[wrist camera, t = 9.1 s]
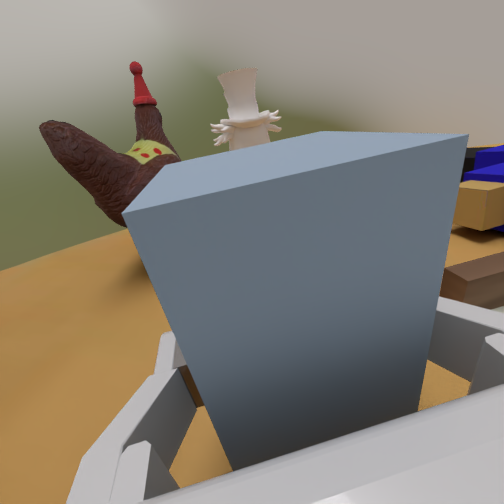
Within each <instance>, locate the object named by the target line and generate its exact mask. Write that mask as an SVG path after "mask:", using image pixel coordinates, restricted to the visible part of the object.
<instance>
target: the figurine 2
mask: <svg viewBox="0 0 504 504" xmlns="http://www.w3.org/2000/svg"><path fill="white" fill-rule="evenodd" d="M256 74H257V68H245V69H239V70H234V71H230V72H227V73H224V74H221V75H219V76H218V77H217V78H218V80H219V81H220V83H221V85H222V87H223V89H224V91H225V93H224V94H223V95H224V96H225V98H226V100H227V102H228V105H229V108H228V109H227V110H228V114H229V118H230V119H221V121H220V122H221V124H218V125H213V124H210V125H211V127H212V128H214V129H215V130H211V131H212V132H214V133H220V132H221V133H224V135H221V136H219V137H218V138H217V139H214V141H216V142H217V141H218V142H217V143H216V144H214V145H215V146H219V145H220V144H222V143H226V142H227V141H228V140H229V148H230V151H233V150H237V149H242V148H247V147H251V146H256V145H261V144H265V143H270V139H269V135H268V131H269V130H272V131H274V132H279V131H281V128H279V127H277V126H275V125H273V124H269V123H271V122H273V121H278V120H279V119H281V116H280V117H275V116H276V115H277V114H278V110H277V111H276V112H274V113H270V112H269V110H267V111H263V112H261V113H259V112H258V105H257V102H256V97H255V80H256Z"/></svg>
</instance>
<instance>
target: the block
mask: <svg viewBox="0 0 504 504" xmlns="http://www.w3.org/2000/svg"><path fill="white" fill-rule="evenodd" d="M468 137H469V134H431V133H384V132H382V133H381V132H380V133H379V132H336V131H334V132H332V131H321V132H316V133H312V134H307V135H303V136H298V137H294V138H289V139H284V140H279V141H275V142H270V143H265V144H261V145H256V146H251V147H247V148H242V149H237V150H233V151H228V152H224V153H219V154H215V155H210V156H205V157H200V158H196V159H191V160H186V161H182V162H177V163H172V164H168V165H165V166H164V167H163V168H162V169H161V170H160V171H159V172H158V174H157V175H156V176H155V177H154V178H153V179H152V180H151V181H150V182H149V184H148V185H147V186H146V187H145V188H144V189H143V190H142V191H141V192H140V194H139V195H138V196H137V197H136V198H135V199H134V200H133V201H132V202H131V204H130V205H129V206H128V207H127V208H126V209H125V210H124V211H123V212H122V213H121V214H122V216H123V218H124V220H125V223H126V225H127V227H128V230H129V232H130V234H131V237H132V239H133V241H134V244H135V246H136V248H137V250H138V253H139V255H140V257H141V260H142V262H143V264H144V267H145V269H146V271H147V274H148V276H149V278H150V280H151V283H152V285H153V287H154V290H155V292H156V294H157V297H158V299H159V301H160V303H161V306H162V308H163V310H164V313H165V315H166V317H167V320H168V322H169V324H170V327H171V329H172V331H173V333H174V336H175V338H176V340H177V343H178V345H179V347H180V350H181V352H182V354H183V357H184V359H185V361H186V363H187V366H188V368H189V370H190V373H191V375H192V377H193V380H194V382H195V384H196V386H197V389H198V391H199V393H200V396H201V398H202V400H203V403H204V405H205V407H206V410H207V412H208V414H209V416H210V419H211V421H212V423H213V426H214V428H215V430H216V433H217V435H218V437H219V440H220V442H221V444H222V446H223V449H224V451H225V453H226V456H227V458H228V460H229V463H230V465H231V467H232V469H233V471H236V470H239V469H242V468H245V467H249V466H252V465H255V464H258V463H261V462H264V461H267V460H270V459H273V458H276V457H279V456H282V455H285V454H289V453H292V452H295V451H298V450H301V449H304V448H307V447H310V446H313V445H316V444H319V443H322V442H325V441H329V440H332V439H335V438H338V437H341V436H344V435H347V434H350V433H353V432H356V431H359V430H363V429H366V428H369V427H372V426H375V425H378V424H381V423H384V422H387V421H390V420H393V419H397V418H400V417H403V416H406V415H409V414H412V413H415V412H417V411H418V405H419V400H420V395H421V389H422V384H423V379H424V373H425V368H426V362H427V357H428V352H429V346H430V341H431V336H432V330H433V325H434V320H435V314H436V309H437V303H438V298H439V293H440V287H441V282H442V277H443V271H444V266H445V260H446V255H447V250H448V244H449V239H450V234H451V228H452V223H453V217H454V212H455V207H456V201H457V196H458V191H459V185H460V180H461V175H462V169H463V164H464V158H465V153H466V148H467V142H468Z"/></svg>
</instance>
